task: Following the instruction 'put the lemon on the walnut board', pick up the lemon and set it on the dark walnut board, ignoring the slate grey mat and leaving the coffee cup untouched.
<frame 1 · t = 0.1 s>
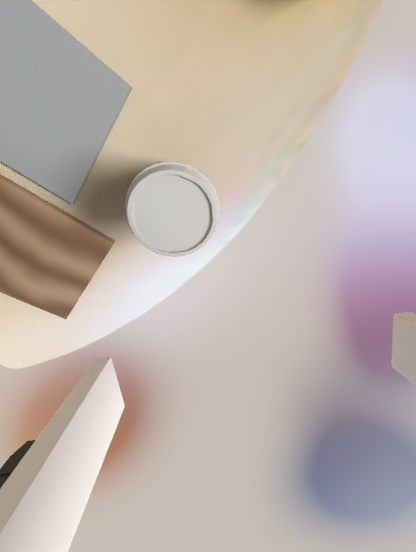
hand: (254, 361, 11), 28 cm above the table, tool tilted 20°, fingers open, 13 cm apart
disposable coffee cup: (176, 187, 34), on the table
walnut board: (31, 253, 37), on the table
slate grey mat: (32, 102, 27), on the table
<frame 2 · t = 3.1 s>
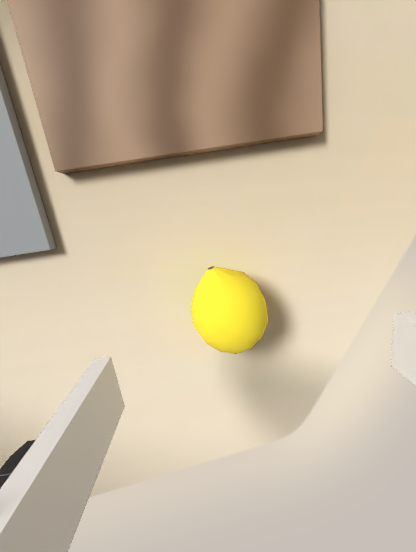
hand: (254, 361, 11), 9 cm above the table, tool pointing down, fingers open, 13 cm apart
lemon: (224, 297, 20), on the table
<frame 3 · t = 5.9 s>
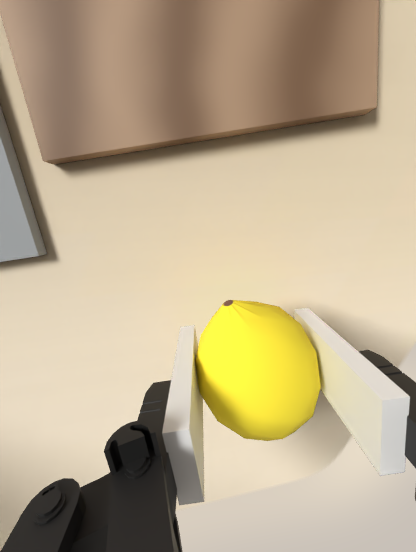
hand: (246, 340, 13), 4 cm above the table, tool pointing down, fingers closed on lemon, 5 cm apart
lemon: (243, 335, 14), point 3 cm above the table, touching gripper
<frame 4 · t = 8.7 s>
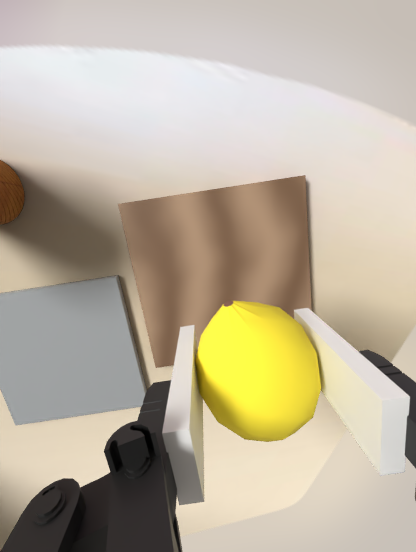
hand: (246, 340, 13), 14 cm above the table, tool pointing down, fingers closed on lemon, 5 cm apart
lemon: (244, 335, 14), point 13 cm above the table, touching gripper
walnut board: (223, 277, 26), on the table
slate grey mat: (65, 352, 28), on the table
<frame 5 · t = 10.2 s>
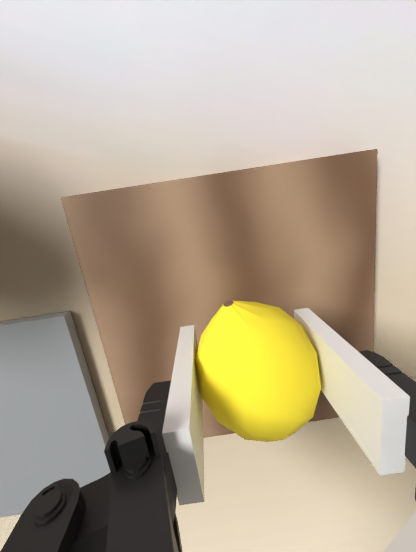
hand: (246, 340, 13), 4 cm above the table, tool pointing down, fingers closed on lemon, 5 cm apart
lemon: (244, 335, 14), point 3 cm above the table, touching gripper
walnut board: (235, 313, 17), on the table
when the fingers open (2 cm above the table, at t = 11.4 s): lemon stays where it is, resting on walnut board.
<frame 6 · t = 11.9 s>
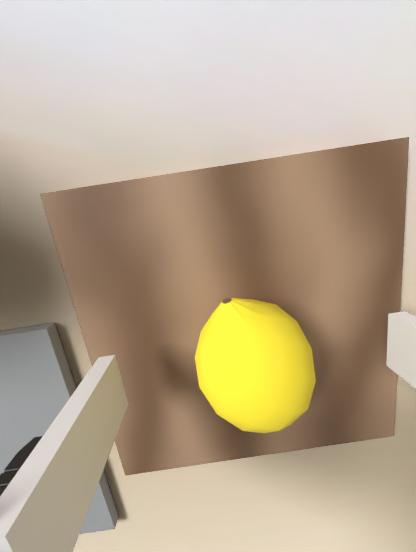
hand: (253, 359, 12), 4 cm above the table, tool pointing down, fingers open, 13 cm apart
lemon: (242, 332, 14), point 1 cm above the table, touching walnut board
walnut board: (241, 325, 15), on the table
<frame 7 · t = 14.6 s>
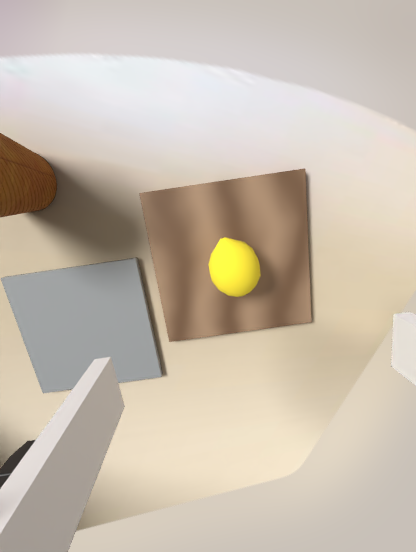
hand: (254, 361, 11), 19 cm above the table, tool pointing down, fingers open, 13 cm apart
disposable coffee cup: (29, 181, 27), on the table
lemon: (230, 262, 29), point 1 cm above the table, touching walnut board
walnut board: (230, 260, 30), on the table
slate grey mat: (88, 327, 31), on the table
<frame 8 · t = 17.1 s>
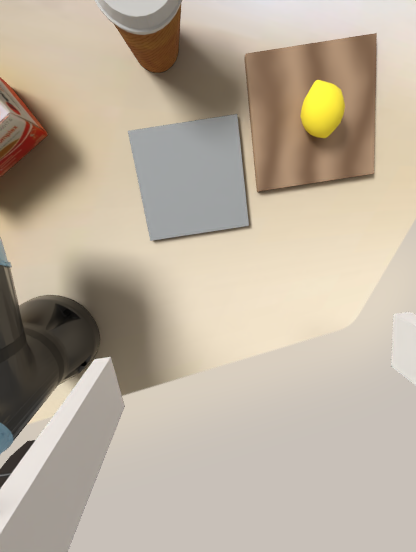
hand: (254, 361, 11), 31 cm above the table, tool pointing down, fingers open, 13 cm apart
disposable coffee cup: (156, 47, 34), on the table
lemon: (312, 118, 36), point 1 cm above the table, touching walnut board
walnut board: (310, 119, 37), on the table
slate grey mat: (191, 181, 38), on the table
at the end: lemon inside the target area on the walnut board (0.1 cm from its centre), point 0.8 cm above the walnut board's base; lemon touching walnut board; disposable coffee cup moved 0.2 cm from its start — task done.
